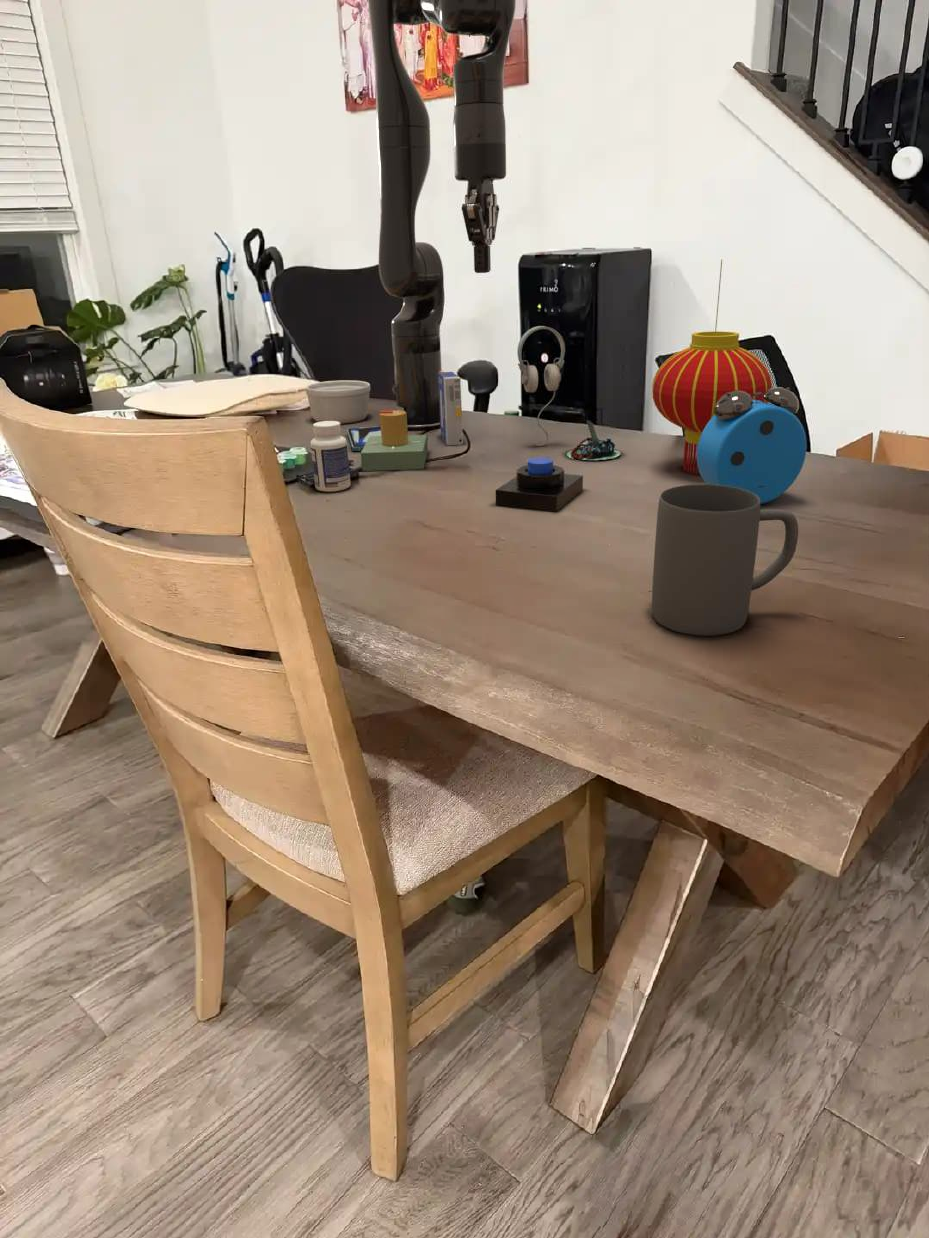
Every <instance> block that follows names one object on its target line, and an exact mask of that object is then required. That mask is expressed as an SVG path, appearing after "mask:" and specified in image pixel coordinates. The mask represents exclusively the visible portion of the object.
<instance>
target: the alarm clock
mask: <svg viewBox="0 0 929 1238" xmlns="http://www.w3.org/2000/svg"><path fill="white" fill-rule="evenodd" d="M760 395H761V393H753V396H760ZM762 398H763V399H764V400H766V401H768V403H765V402H762V401H759V400H757V398H756V400H752V398H751V396H750V395H749V394H748V393H746V392H744V391H740V390H735V391H731V392H727V393H726V394H724V395H723V396H722V397H720V398H719V400H718V401H717V402H716V404H715V408H714V413H715V415H714V416H713V417H712V418H711V420H710V421H709V422H708V424H707V425H706V427H705V428H704V430H703V432H702V434H701V437H700V440H699V443H698V448H697V447H696V454H697V465H698V473H700V474H699V475H700V476H701V479H702V481H704V484H711V485H723V486H730V487H736V488H740V489H744V490H747V491H750V492H752V493H754V494H756V495H757V496H758V497H759V498H760V505H763V504H766V503H769V502H771V501H773V500H775V499H777V498H778V497H780V496H782V495H783V494H784V493H785V492H786V491H787V490H788V489H790V487H791V486H792V485H793V484H794V482H795V481H796V479H798V476H799V475H800V473H801V471H802V468H803V466H804V464H805V460H806V455H807V448H808V447H807V437H806V432H805V429H804V426H803V424H802V423H801V421H800V419H799V418H798V417H797V416H796V415H795V414H797V413H798V411H799V408H800V401H799V399H798V397H797V395H796V394H795V393H794V392H792V391H791V390H790V387H786V388H784V387H782V386H781V387H780V386H775V387H772V388H770V389H768V390H767V391H766V392H765V393H764V394H763V395H762ZM697 465H696V466H697Z"/></svg>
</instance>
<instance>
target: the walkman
mask: <svg viewBox="0 0 929 1238" xmlns="http://www.w3.org/2000/svg"><path fill="white" fill-rule="evenodd" d="M461 382H462V381H461V377H460V376H458V375H457V374H456V373H455V372H454V371H444V370H442V371H440V373H438V386H439V408H440V427H439V428H440V430H439V431H440V437H441V439H442V440H443V441H444V443H445V444H446V445H447V446H461V445H463V444H464V440H463V437H464V435H463V410H462V408H463V407H462V385H461Z"/></svg>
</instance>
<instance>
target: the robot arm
mask: <svg viewBox="0 0 929 1238" xmlns="http://www.w3.org/2000/svg"><path fill="white" fill-rule="evenodd" d="M516 4H517V3H516V0H367V6H368V16H369V17H368V18H369V26H370V36H371V37H370V38H371V45H372V54H373V65H374V79H375V80H374V81H375V83H374V85H375V109H376V110H375V111H376V114H375V115H376V141H377V143H376V145H377V147H376V148H377V157H378V173H379V175H378V176H379V178H378V179H379V208H380V209H379V236H378V237H379V239H378V274H379V278H380V283H381V285H382V287H383V288H384V290H385V291H386V292H387V293H388V295H390V296H391V297H394V298H397V299H403V303H402V307H401V310H400V311H399V313H398V314H397V315H396V316H395V317H394V318H392V320H391V325H390V326H391V328H390V329H391V345H392V355H393V372H394V374H393V375H394V377H393V378H392V383H393V385H392V386H391V393H392V394H393V395H394V396H395V401H396V406H395V407H396V410H400V411H405V412H406V414H407V430H429V429H435V428H440V408H439V386H438V373H440V371H443V369H442V368H443V367H442V364H443V363H442V348H441V347H442V345H441V344H442V343H441V323H442V320H443V317H444V310H445V309H444V307H445V306H444V305H445V304H444V303H445V302H444V301H445V300H444V299H445V297H444V294H445V291H444V290H445V283H444V282H445V280H444V279H445V277H444V266H443V265H444V264H443V262H442V258H441V256H440V254H439V251H438V250H437V249H436V248H435V246H433V245H432V244H431V243H428V242H425V241H416V213H417V212H416V211H417V205H418V202H419V199H420V196H421V193H422V190H423V187H424V184H425V182H426V178H427V177H428V172H429V169H430V166H431V165H430V164H431V156H432V154H431V153H432V152H431V151H432V149H431V147H432V146H431V122H430V121H431V119H430V114H429V111H428V108H427V106H426V104H425V102H424V100H423V97H422V96H421V94H420V92H419V90H418V88H417V87H416V85H415V84H414V81H413V80H412V78H411V77H410V75H409V73H408V70H407V69H406V67H405V65H404V62H403V60H402V57H401V55H400V51H399V47H398V42H397V38H396V31H395V26H394V25H400V26H401V25H402V26H422V25H427V24H429V23H431V24H433V25H435V26H437V27H440V28H441V29H442V30H443V31H444V32H445V33H446V34H448V35H449V34H450V35H455V36H468V37H469V36H471V37H484V42H483V46H482V49H481V51H480V52H477V53H472V54H469V55H465V56H462V57H460V58H458V59H457V60H456V61H455V62H454V64H453V68H452V69H453V70H452V71H453V72H452V73H453V74H452V83H453V105H454V106H453V107H454V108H453V124H452V127H453V128H452V132H453V133H452V135H453V136H452V137H453V157H454V158H453V163H454V167H453V168H454V178H455V180H456V181H458V182H467V185H466V194H465V195H464V203H462V204H461V212H462V217H463V221H464V225H465V229H466V234H467V239H468V242H471V245H472V247H473V269H474V270H473V271H474V273H476V274H487V273H490V272H491V270H492V269H491V262H492V261H491V246H492V244H493V241H495V239H496V232H497V227H498V226H497V225H498V219H499V213H500V206H499V204H498V196H497V194H496V193H495V190H494V181H500V180H503V179H506V177H507V134H506V133H507V131H506V130H507V126H506V118H505V117H506V116H505V108H504V107H505V105H504V71H505V62H506V57H507V50H508V45H509V40H510V35H511V31H512V27H513V23H514V18H515V13H516V6H517V5H516Z"/></svg>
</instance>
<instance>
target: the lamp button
mask: <svg viewBox="0 0 929 1238" xmlns="http://www.w3.org/2000/svg"><path fill="white" fill-rule="evenodd" d="M526 464H527V465H526V466H527V472H528V473H531V474H548V473H553V465H554V460H553V458H549V457H533V458H532V457H531V458H529V459H527V463H526Z"/></svg>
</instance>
